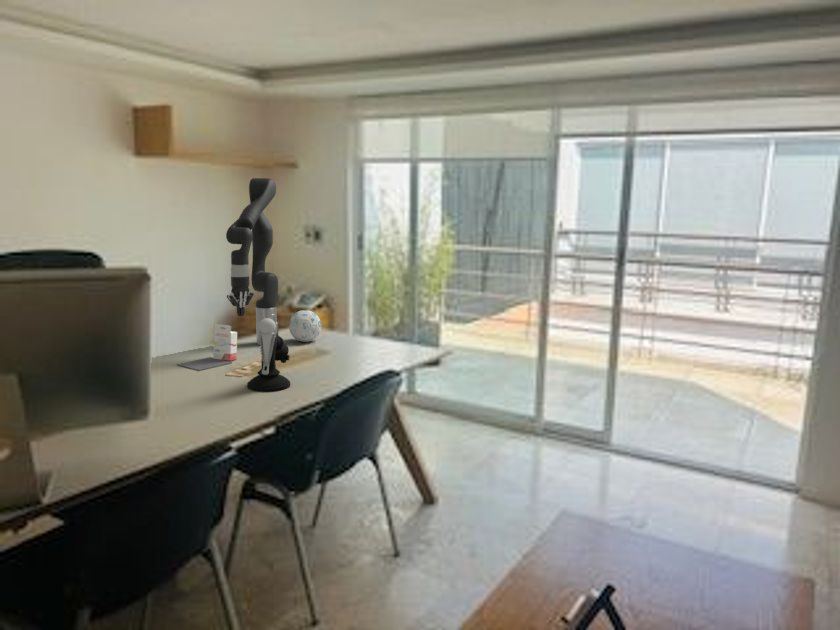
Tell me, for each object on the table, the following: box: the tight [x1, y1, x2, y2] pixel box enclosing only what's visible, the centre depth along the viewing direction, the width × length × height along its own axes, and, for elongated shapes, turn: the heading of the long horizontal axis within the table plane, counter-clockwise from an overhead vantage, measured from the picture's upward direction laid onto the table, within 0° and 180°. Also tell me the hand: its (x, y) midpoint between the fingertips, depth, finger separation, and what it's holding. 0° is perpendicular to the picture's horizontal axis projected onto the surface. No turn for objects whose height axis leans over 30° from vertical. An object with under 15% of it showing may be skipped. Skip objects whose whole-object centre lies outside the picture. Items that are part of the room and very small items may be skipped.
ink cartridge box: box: [212, 323, 238, 362], centre depth 273 cm, size 9×5×15 cm, turn 71°
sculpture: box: [246, 318, 291, 393], centre depth 240 cm, size 15×24×25 cm, turn 172°
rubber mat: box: [176, 356, 233, 372], centre depth 266 cm, size 16×14×1 cm
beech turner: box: [225, 360, 262, 378], centre depth 259 cm, size 20×7×1 cm, turn 165°
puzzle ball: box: [288, 309, 322, 343], centre depth 311 cm, size 15×15×15 cm
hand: (240, 315), depth 278 cm, fingers closed
